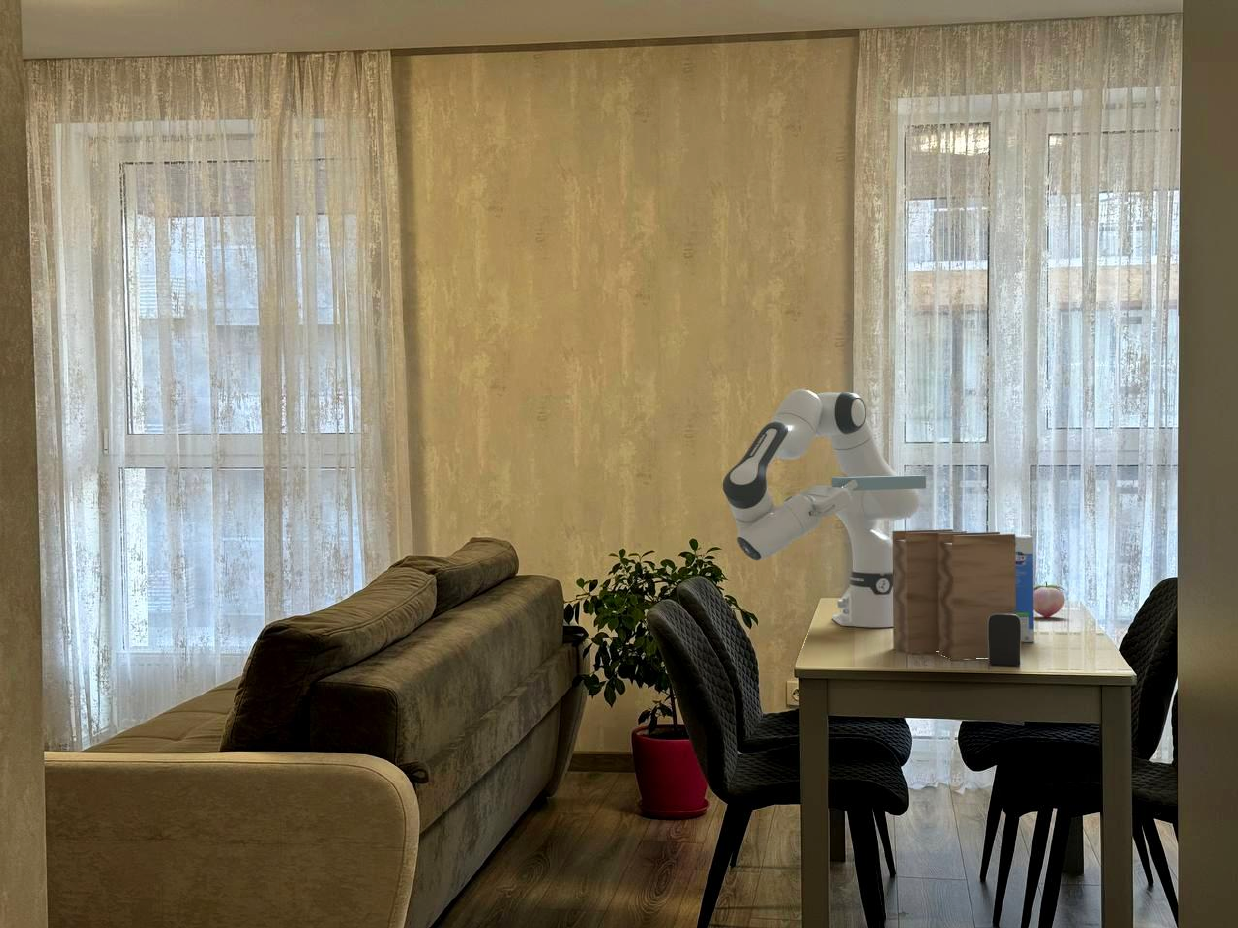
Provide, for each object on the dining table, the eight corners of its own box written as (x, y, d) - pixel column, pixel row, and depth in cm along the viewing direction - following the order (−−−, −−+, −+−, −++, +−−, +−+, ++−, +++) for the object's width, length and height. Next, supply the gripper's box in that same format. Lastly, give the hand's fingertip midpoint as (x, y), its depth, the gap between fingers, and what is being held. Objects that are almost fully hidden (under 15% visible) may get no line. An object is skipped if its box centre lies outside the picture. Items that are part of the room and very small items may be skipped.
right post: (938, 655, 293) (937, 533, 292) (998, 652, 296) (997, 531, 295) (954, 660, 285) (953, 536, 285) (1016, 657, 288) (1015, 534, 288)
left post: (893, 648, 303) (892, 530, 302) (951, 645, 306) (950, 529, 305) (907, 653, 295) (906, 533, 295) (967, 650, 298) (966, 531, 298)
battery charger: (1020, 663, 280) (1020, 612, 280) (1021, 667, 277) (1021, 614, 277) (987, 663, 282) (987, 611, 282) (988, 666, 278) (987, 613, 278)
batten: (831, 490, 297) (831, 477, 297) (919, 487, 301) (919, 475, 301) (836, 491, 293) (836, 478, 293) (926, 488, 298) (925, 475, 298)
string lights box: (1030, 638, 316) (1029, 534, 315) (1034, 643, 308) (1034, 536, 308) (975, 637, 318) (974, 534, 318) (978, 642, 311) (977, 536, 310)
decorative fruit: (1056, 615, 355) (1056, 579, 355) (1068, 619, 347) (1068, 582, 347) (1023, 615, 355) (1023, 579, 354) (1034, 619, 346) (1034, 583, 346)
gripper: (812, 504, 283) (862, 471, 285) (782, 499, 303) (829, 469, 305) (825, 528, 284) (875, 495, 286) (795, 521, 304) (842, 491, 306)
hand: (851, 481), depth 296 cm, fingers closed on batten, 3 cm apart
